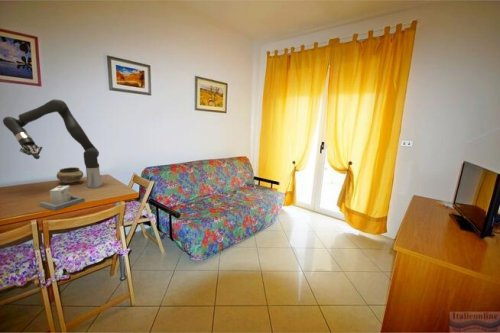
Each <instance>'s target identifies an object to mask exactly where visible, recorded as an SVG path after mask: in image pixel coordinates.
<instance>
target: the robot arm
mask: <svg viewBox="0 0 500 333" xmlns="http://www.w3.org/2000/svg"><path fill="white" fill-rule="evenodd" d="M52 113H58V115H60V117H61V118H62V120H63V123H64V126H65V129H66V131H67V132H68V133H69V135H70V136H71V137H72V139H73V140H75V141H76V142H77V143H79V145H81V147H82V148H83V150H84V152H83V161H84V165H85V172H86V180H87V181H86V183H87V188H88V189H97V188H100V187H102V186H103V180H102V175H101V171H100V163H99V162H98V161H99V160H98V157H99V154H100V152H99V150H98V149H97V148H96V146H95V145H93V143H92V142H91V141H90V138H89V137H88V136H87V134H86V132H85V130H84V129H83V127H82V126H81V125H80V124H79V122H78V121H77V119H76V118H75V117H74V115H73V114H72V112H71V110H70V109H69V107H68V105H67V104H66V102H64V101H63V100H61V99H51V100H49V101H47V102H46V103H44V104H43V105H41V106H38V107H37V108H36V107H35V108H34V109H31V110H28V111H25V112H23V113H20V114H19V115H18V119H17V118H15V117H12V116H5V117H4V118H3V119H2V123H3V125H4V126H5V127H6V128H7V129H8V130H9V131H10V132H11V133H12V134H13V136H14V137H15V139H16V141H17V142H18V143H19V145H20V149H19V152H21V153H23V154H25V155H27V156H32V157H33V158H34V159H36V160H39V159H40V158H41V156H40V153H42V152H41V151H42V150H43V147H42V146H38V144H36V142H35V141H34V140H33V138H32V136H31V135H30V134H29V133H28V131H27V130H26V129H25V128H24V127H25V126H26V125H28V124H29V123H31V122H35V121H36V120H38V119H41V118H42V117H44V116H46V115H49V114H52Z"/></svg>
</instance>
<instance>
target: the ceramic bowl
mask: <svg viewBox="0 0 500 333" xmlns="http://www.w3.org/2000/svg"><path fill="white" fill-rule="evenodd" d="M83 177H84V172H83V171H82V170H80V168H79V167H74V166H72V167H65V168H64V167H63V168H61V169H59V171H57V173H56V179H58V180H59V181H60V182H62V183H64V184H65V185H75V184H78V183H79V181H80V180H81V179H82V178H83Z"/></svg>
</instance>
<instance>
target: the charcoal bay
mask: <svg viewBox="0 0 500 333" xmlns="http://www.w3.org/2000/svg"><path fill="white" fill-rule="evenodd" d="M83 202H86V200H85V197H81V196H77V195H74V194H71V200H70V201H68V202H66V203H62V204H59V205H54V204H52V203H50V202H47V201H39V203H38V205H39V207H42V208H45V209H46V208H47V209H49V210H51V211H52V210H53V211H59V210H61V209H62V210H63V209H64V208H67V207H71V206H74V205H78V204H80V203H83Z"/></svg>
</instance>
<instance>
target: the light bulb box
mask: <svg viewBox="0 0 500 333" xmlns="http://www.w3.org/2000/svg"><path fill="white" fill-rule="evenodd" d="M49 195H50V200H51V201H50V202H51V203H50V204H54V205H59V204H62V203H66V202H69V201H72V200H71V195H72V193H71V185H57V186H56V187H55V188H52V189H50V190H49Z"/></svg>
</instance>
